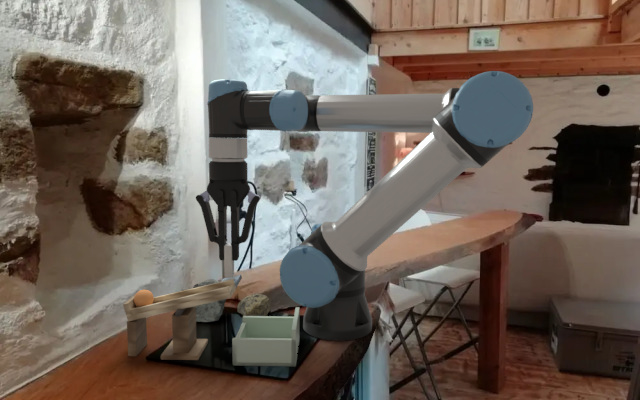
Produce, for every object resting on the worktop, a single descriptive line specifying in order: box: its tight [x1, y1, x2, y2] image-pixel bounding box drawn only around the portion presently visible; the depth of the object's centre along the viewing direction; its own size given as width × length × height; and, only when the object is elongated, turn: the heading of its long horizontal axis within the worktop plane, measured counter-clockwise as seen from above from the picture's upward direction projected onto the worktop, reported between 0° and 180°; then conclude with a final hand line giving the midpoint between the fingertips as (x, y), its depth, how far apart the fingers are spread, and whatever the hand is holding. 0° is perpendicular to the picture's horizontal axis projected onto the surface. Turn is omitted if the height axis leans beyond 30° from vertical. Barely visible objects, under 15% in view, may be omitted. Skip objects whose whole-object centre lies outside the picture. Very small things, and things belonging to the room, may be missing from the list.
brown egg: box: [134, 289, 155, 307], centre depth 97 cm, size 4×4×4 cm
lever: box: [122, 274, 243, 321], centre depth 100 cm, size 20×14×4 cm
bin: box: [231, 306, 301, 367], centre depth 98 cm, size 12×12×7 cm
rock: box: [236, 292, 271, 316], centre depth 119 cm, size 7×8×4 cm
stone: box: [192, 278, 227, 323], centre depth 116 cm, size 10×10×10 cm
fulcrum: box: [126, 306, 209, 361], centre depth 98 cm, size 14×8×8 cm, turn 89°
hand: (229, 275), depth 103 cm, fingers closed
